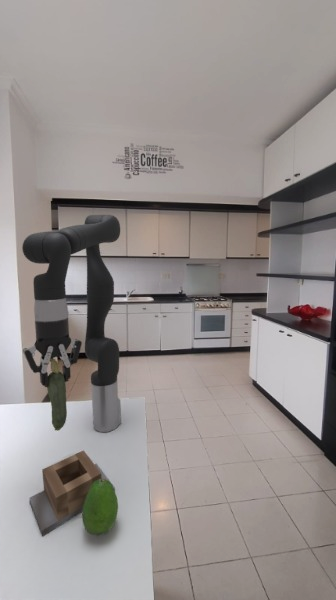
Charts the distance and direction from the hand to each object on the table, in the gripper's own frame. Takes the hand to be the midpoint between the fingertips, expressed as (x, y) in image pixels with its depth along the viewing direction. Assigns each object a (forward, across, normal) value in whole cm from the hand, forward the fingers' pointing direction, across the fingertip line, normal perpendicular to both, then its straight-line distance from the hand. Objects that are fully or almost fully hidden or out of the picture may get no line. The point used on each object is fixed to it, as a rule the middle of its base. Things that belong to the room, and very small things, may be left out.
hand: (55, 382), depth 69 cm
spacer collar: (+30, -1, +5) cm, 30 cm away
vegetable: (+13, 0, 0) cm, 13 cm away
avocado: (+30, -3, +17) cm, 34 cm away
